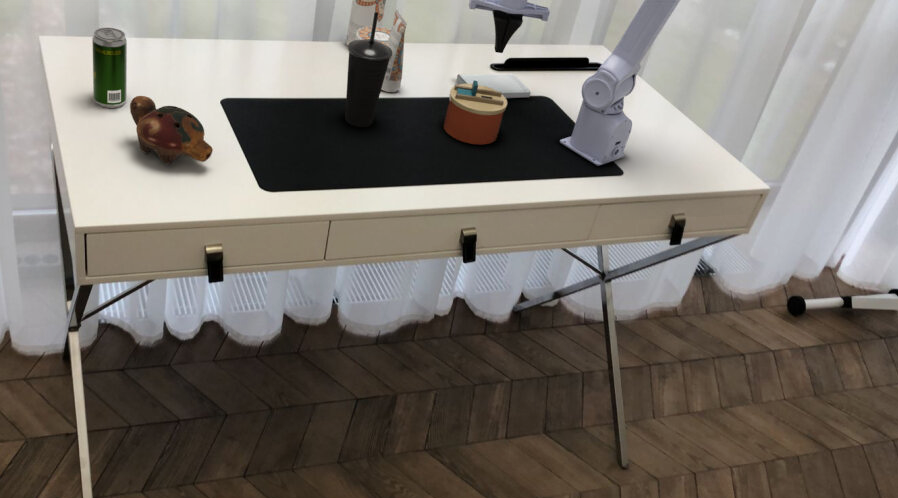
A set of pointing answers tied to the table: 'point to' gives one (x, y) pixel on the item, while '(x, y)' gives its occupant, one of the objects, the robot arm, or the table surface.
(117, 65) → the beer can
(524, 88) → the hard drive
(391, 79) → the cosmetic set
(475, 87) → the slider
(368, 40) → the drinking cup
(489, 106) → the brown and beige cylinder
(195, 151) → the decorative turtle
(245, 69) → the table surface
